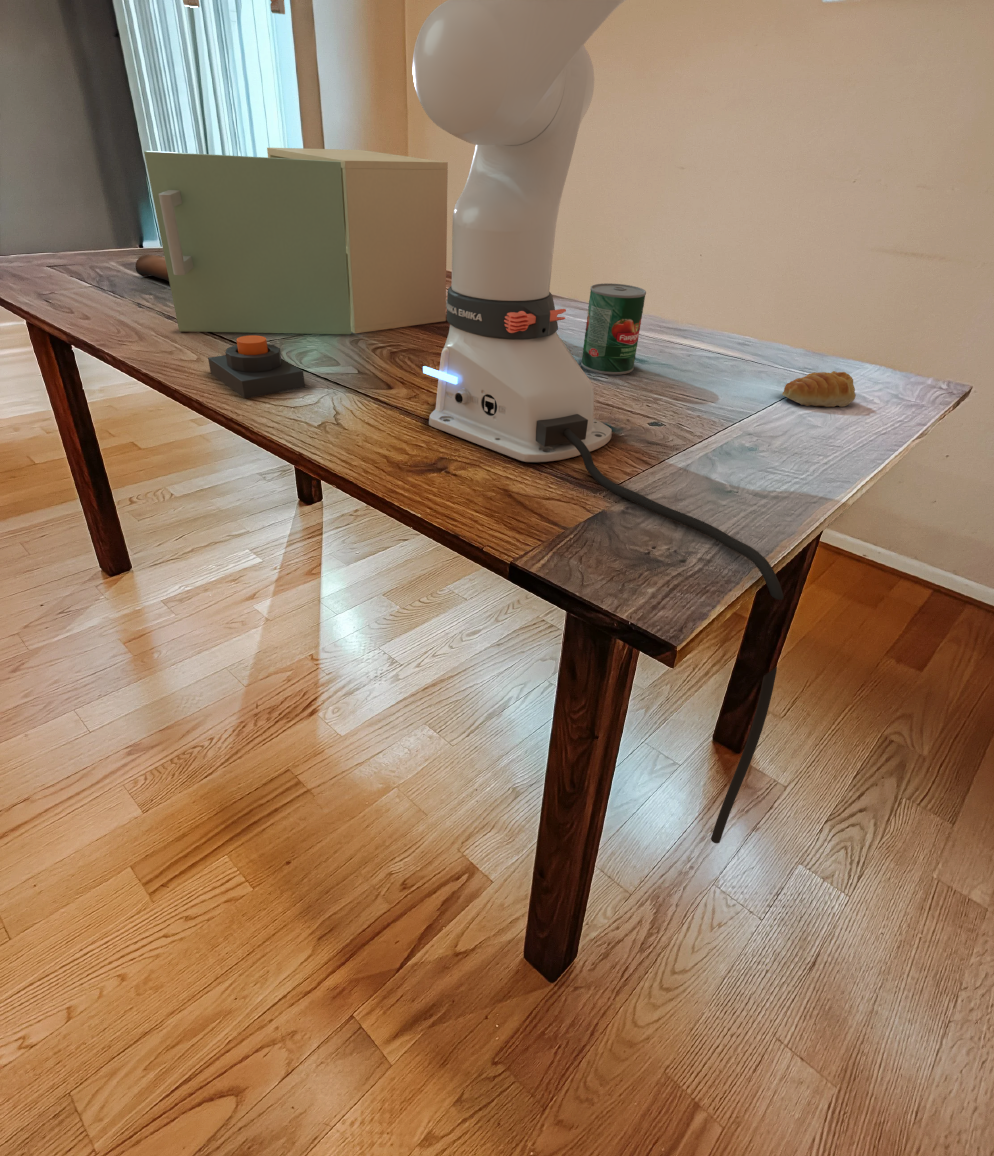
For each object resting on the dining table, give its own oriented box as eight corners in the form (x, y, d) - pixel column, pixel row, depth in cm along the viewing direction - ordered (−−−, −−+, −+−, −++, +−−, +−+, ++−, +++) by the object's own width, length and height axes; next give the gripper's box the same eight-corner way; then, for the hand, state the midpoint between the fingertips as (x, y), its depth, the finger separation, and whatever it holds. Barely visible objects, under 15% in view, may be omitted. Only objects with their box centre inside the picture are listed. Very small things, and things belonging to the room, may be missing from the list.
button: (272, 354, 88) (271, 340, 87) (245, 358, 86) (243, 344, 85) (261, 347, 90) (259, 334, 89) (233, 351, 88) (231, 337, 87)
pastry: (800, 410, 92) (809, 382, 90) (769, 394, 97) (776, 367, 95) (856, 406, 95) (866, 379, 93) (823, 390, 100) (831, 364, 98)
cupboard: (355, 334, 111) (345, 160, 98) (283, 300, 127) (266, 147, 114) (445, 321, 121) (447, 162, 108) (368, 291, 137) (362, 150, 124)
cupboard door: (349, 344, 106) (338, 164, 93) (169, 341, 102) (131, 153, 89) (351, 332, 111) (340, 161, 98) (180, 329, 107) (145, 151, 94)
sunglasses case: (226, 284, 133) (205, 253, 128) (201, 308, 131) (178, 278, 126) (175, 269, 142) (153, 240, 137) (151, 292, 140) (128, 263, 135)
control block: (305, 388, 89) (301, 356, 87) (244, 399, 85) (239, 366, 82) (268, 365, 96) (264, 335, 94) (210, 374, 91) (205, 343, 89)
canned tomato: (629, 377, 100) (642, 297, 94) (576, 370, 102) (585, 291, 96) (636, 363, 106) (649, 287, 100) (586, 356, 108) (595, 281, 102)
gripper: (319, -141, 76) (329, 20, 83) (118, -165, 72) (148, 6, 80) (316, -160, 70) (327, 14, 78) (99, -186, 67) (133, -2, 75)
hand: (235, 10), depth 79 cm, fingers open, 8 cm apart
